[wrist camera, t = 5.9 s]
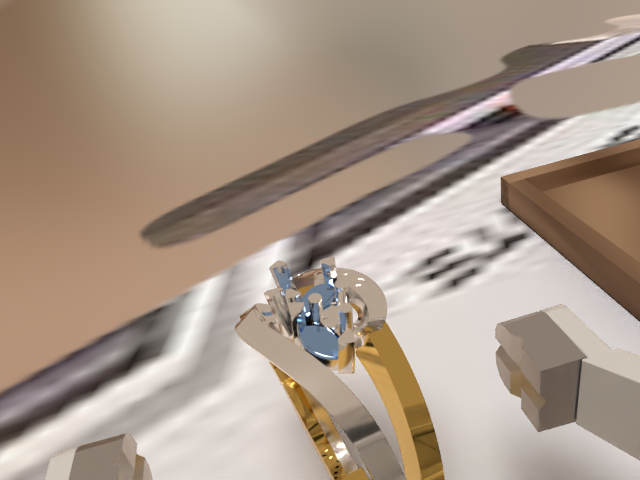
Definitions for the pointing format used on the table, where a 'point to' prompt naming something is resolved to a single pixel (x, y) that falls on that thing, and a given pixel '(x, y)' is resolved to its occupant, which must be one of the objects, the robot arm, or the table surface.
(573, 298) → the table surface
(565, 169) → the tray
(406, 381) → the ring
